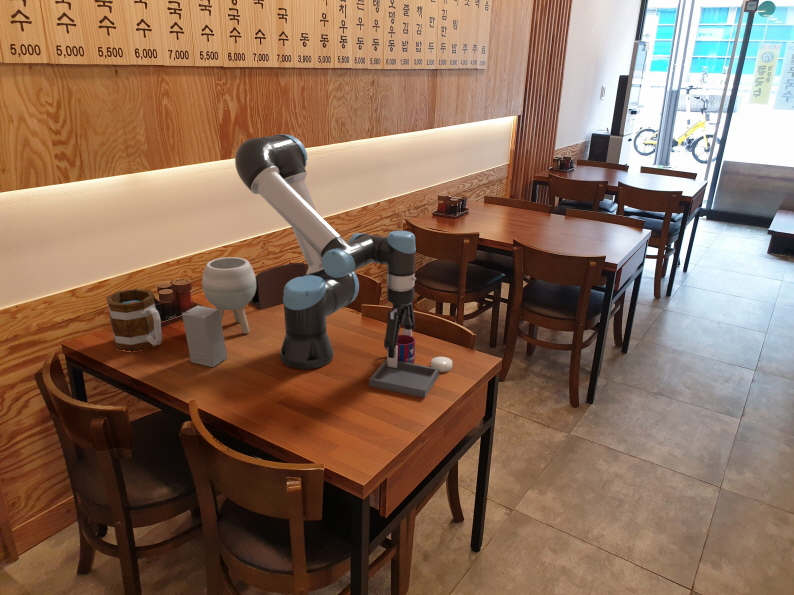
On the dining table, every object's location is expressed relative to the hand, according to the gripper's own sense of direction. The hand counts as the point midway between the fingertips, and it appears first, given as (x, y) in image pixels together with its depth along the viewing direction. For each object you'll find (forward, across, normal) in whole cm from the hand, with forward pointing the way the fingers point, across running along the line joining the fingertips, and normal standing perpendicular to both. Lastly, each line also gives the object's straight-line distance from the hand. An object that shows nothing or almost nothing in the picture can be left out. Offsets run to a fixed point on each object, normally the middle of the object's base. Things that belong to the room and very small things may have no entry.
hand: (399, 357), depth 169 cm
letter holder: (0, +27, +58) cm, 64 cm away
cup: (+1, +1, 0) cm, 1 cm away
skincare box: (+1, -22, +50) cm, 55 cm away
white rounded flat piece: (+1, +1, -12) cm, 13 cm away
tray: (+1, -11, -6) cm, 12 cm away
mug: (0, -21, +74) cm, 77 cm away
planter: (0, -1, +56) cm, 57 cm away
